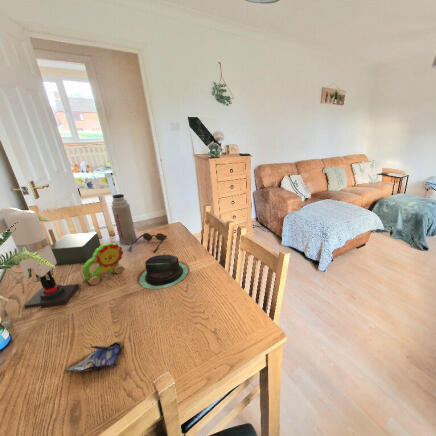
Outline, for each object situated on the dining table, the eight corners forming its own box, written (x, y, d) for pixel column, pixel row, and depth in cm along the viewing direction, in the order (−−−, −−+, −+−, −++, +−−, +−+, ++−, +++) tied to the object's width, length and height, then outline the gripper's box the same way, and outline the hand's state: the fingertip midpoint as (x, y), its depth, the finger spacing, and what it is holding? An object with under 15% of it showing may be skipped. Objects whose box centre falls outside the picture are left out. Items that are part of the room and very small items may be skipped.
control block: (26, 310, 87) (22, 301, 86) (43, 292, 96) (39, 284, 94) (66, 304, 91) (63, 296, 89) (79, 288, 100) (76, 280, 98)
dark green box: (52, 266, 112) (45, 249, 109) (70, 249, 126) (64, 234, 123) (87, 262, 117) (82, 246, 113) (101, 246, 131) (97, 232, 127)
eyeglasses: (167, 240, 141) (166, 232, 140) (155, 253, 128) (154, 244, 126) (142, 239, 140) (140, 232, 139) (127, 252, 127) (125, 244, 125)
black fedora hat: (134, 292, 97) (138, 268, 114) (180, 299, 108) (178, 276, 124) (149, 261, 96) (151, 240, 112) (194, 271, 106) (190, 251, 123)
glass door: (56, 255, 119) (47, 230, 114) (64, 248, 125) (56, 224, 120) (64, 254, 120) (55, 229, 115) (72, 247, 126) (64, 223, 121)
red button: (42, 294, 90) (41, 291, 89) (48, 288, 93) (46, 285, 92) (54, 293, 91) (52, 289, 90) (59, 287, 94) (58, 283, 93)
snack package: (92, 345, 76) (58, 381, 65) (90, 330, 73) (55, 365, 63) (130, 351, 77) (104, 388, 66) (130, 336, 74) (103, 372, 64)
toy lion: (91, 287, 100) (81, 256, 95) (84, 283, 102) (74, 252, 97) (129, 268, 114) (122, 240, 108) (122, 265, 116) (115, 237, 110)
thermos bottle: (124, 246, 132) (112, 198, 122) (117, 241, 137) (106, 195, 126) (139, 241, 139) (129, 195, 128) (132, 237, 143) (122, 192, 132)
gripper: (33, 236, 90) (49, 277, 97) (2, 257, 77) (24, 302, 84) (57, 235, 92) (72, 274, 99) (32, 254, 79) (50, 298, 86)
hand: (50, 287), depth 91 cm, fingers closed
